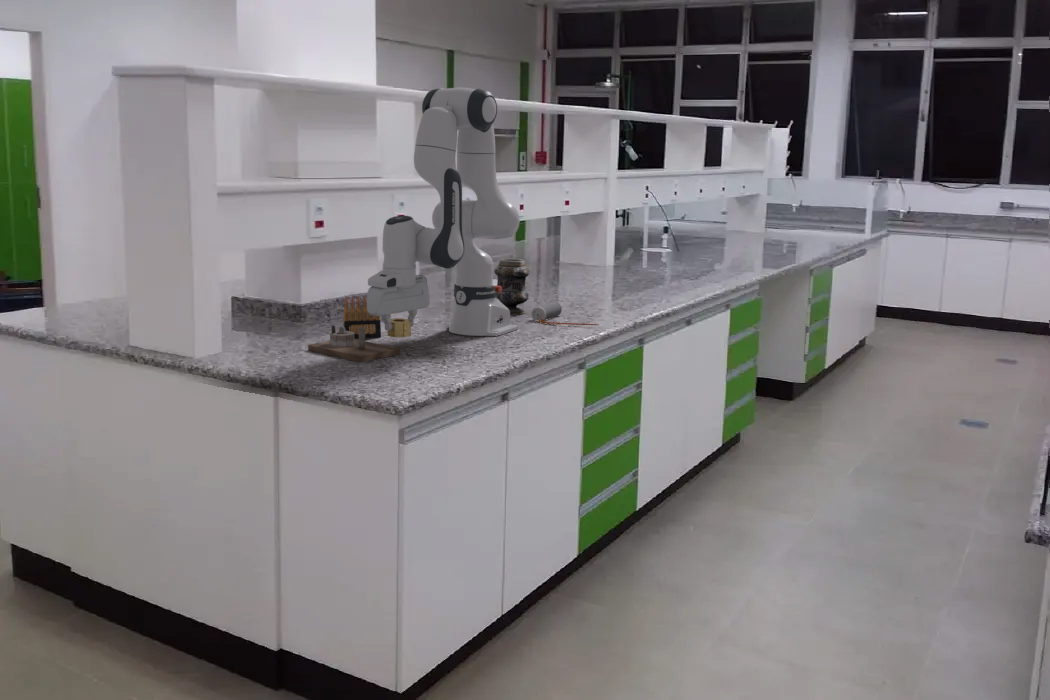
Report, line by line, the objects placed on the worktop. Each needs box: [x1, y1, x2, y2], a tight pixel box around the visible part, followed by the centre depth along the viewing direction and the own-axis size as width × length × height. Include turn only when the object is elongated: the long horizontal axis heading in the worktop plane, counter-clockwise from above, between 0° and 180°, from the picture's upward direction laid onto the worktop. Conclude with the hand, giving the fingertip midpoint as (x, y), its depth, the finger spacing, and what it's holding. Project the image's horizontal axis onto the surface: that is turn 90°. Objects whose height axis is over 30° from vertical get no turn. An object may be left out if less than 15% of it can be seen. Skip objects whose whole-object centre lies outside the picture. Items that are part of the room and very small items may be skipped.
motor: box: [531, 301, 600, 326], centre depth 306 cm, size 23×22×5 cm
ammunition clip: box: [342, 295, 382, 339], centre depth 266 cm, size 11×2×12 cm, turn 110°
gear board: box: [307, 325, 401, 363], centre depth 248 cm, size 14×20×7 cm
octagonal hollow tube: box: [387, 317, 412, 338], centre depth 254 cm, size 6×6×4 cm
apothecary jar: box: [493, 257, 530, 315], centre depth 316 cm, size 12×12×18 cm
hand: (399, 328), depth 254 cm, fingers closed on octagonal hollow tube, 6 cm apart
